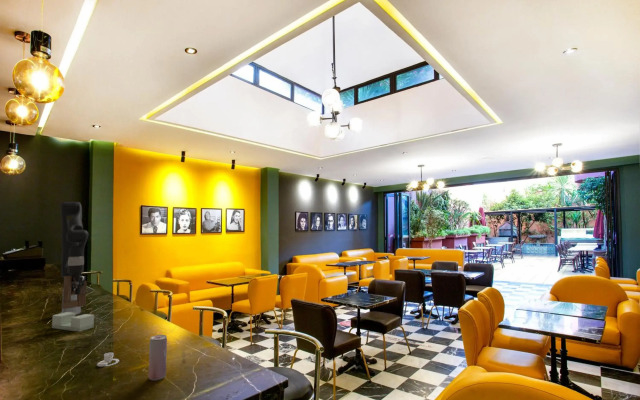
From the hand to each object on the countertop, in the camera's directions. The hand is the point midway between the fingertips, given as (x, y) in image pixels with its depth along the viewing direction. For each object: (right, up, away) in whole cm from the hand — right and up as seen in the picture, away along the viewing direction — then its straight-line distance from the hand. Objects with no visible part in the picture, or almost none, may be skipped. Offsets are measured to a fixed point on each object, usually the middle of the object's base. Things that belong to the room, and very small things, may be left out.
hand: (74, 294), depth 192 cm
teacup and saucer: (+49, -15, -52) cm, 73 cm away
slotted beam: (0, -19, -1) cm, 19 cm away
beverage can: (+80, -14, -65) cm, 104 cm away
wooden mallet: (0, -8, -1) cm, 8 cm away
